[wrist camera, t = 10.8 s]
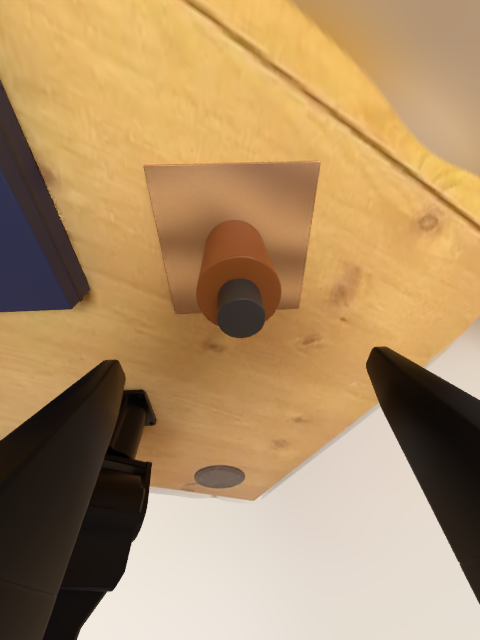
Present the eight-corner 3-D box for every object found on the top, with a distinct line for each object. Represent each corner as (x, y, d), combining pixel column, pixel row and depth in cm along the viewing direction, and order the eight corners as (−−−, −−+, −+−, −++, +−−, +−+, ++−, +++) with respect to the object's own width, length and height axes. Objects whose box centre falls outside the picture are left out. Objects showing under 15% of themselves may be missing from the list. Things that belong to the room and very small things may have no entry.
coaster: (297, 306, 22) (298, 308, 21) (175, 311, 21) (175, 314, 21) (318, 161, 15) (321, 161, 15) (145, 165, 15) (143, 165, 15)
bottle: (262, 276, 19) (285, 353, 12) (208, 278, 19) (197, 357, 12) (265, 218, 17) (296, 272, 9) (202, 220, 17) (184, 276, 9)
